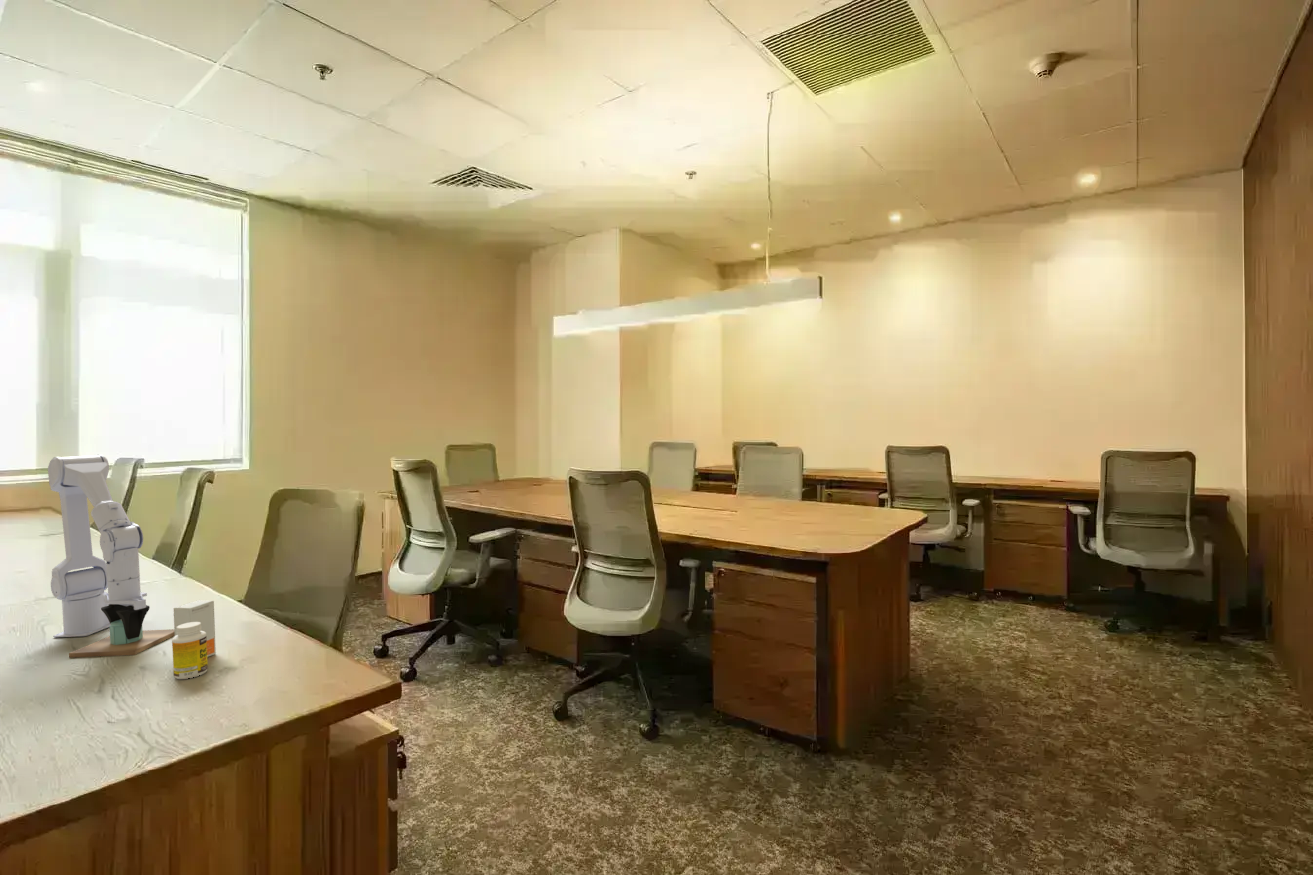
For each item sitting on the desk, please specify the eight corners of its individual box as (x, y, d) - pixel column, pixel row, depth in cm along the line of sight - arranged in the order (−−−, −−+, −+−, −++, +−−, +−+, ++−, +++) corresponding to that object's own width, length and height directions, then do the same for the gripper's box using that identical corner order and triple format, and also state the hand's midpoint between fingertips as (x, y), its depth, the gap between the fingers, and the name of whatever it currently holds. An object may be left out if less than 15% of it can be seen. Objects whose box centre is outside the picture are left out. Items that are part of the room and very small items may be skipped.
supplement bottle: (205, 676, 125) (202, 626, 124) (170, 682, 122) (167, 631, 122) (210, 667, 130) (208, 618, 129) (177, 672, 127) (175, 623, 127)
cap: (106, 642, 143) (105, 621, 143) (135, 635, 148) (134, 614, 148) (118, 646, 141) (116, 624, 141) (146, 638, 146) (145, 617, 145)
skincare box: (191, 664, 131) (188, 608, 131) (175, 663, 132) (172, 607, 132) (217, 653, 137) (214, 600, 137) (201, 652, 138) (198, 599, 138)
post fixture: (120, 635, 151) (119, 619, 151) (180, 632, 152) (179, 616, 152) (69, 657, 137) (68, 639, 137) (134, 654, 138) (133, 636, 138)
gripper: (160, 576, 144) (163, 634, 145) (129, 571, 151) (132, 626, 151) (123, 584, 138) (126, 645, 138) (92, 578, 145) (95, 636, 145)
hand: (126, 636), depth 144 cm, fingers closed on cap, 5 cm apart
